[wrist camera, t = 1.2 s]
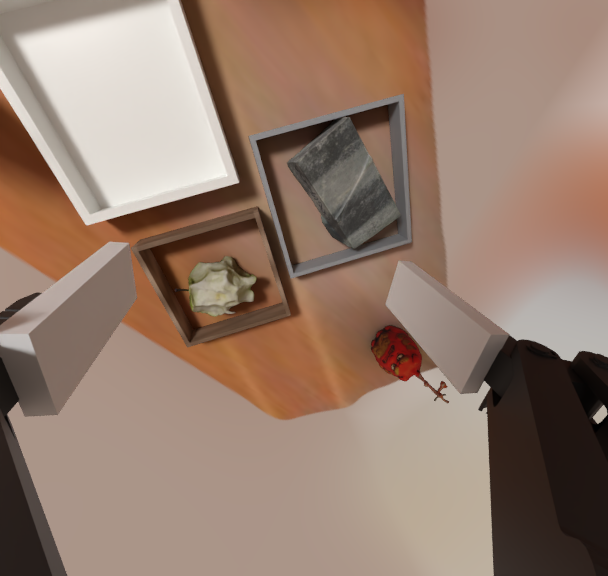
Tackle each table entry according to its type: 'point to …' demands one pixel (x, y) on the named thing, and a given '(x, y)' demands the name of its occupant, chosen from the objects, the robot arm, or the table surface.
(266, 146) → the table surface
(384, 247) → the stone frame
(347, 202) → the stone block
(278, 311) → the wooden frame
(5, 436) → the robot arm
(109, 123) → the tray
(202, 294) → the pale lumpy lump
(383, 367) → the red clay folk toy
